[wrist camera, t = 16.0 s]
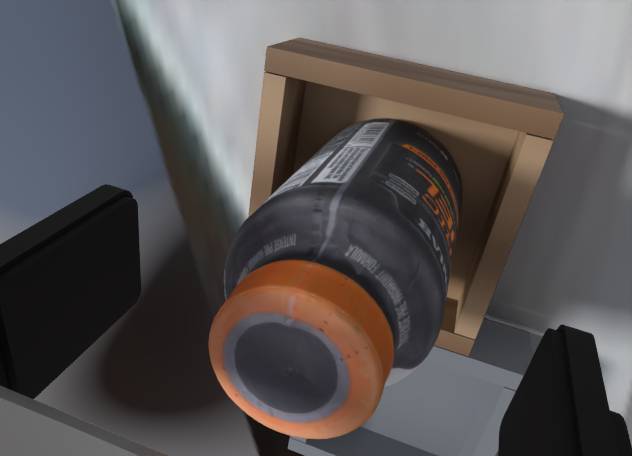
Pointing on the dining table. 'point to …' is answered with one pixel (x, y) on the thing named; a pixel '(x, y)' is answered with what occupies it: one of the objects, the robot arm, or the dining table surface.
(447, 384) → the gray square open tray
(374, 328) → the pill bottle
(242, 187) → the dining table surface
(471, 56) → the dining table surface
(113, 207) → the robot arm
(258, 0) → the dining table surface
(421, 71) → the brown wooden open tray
